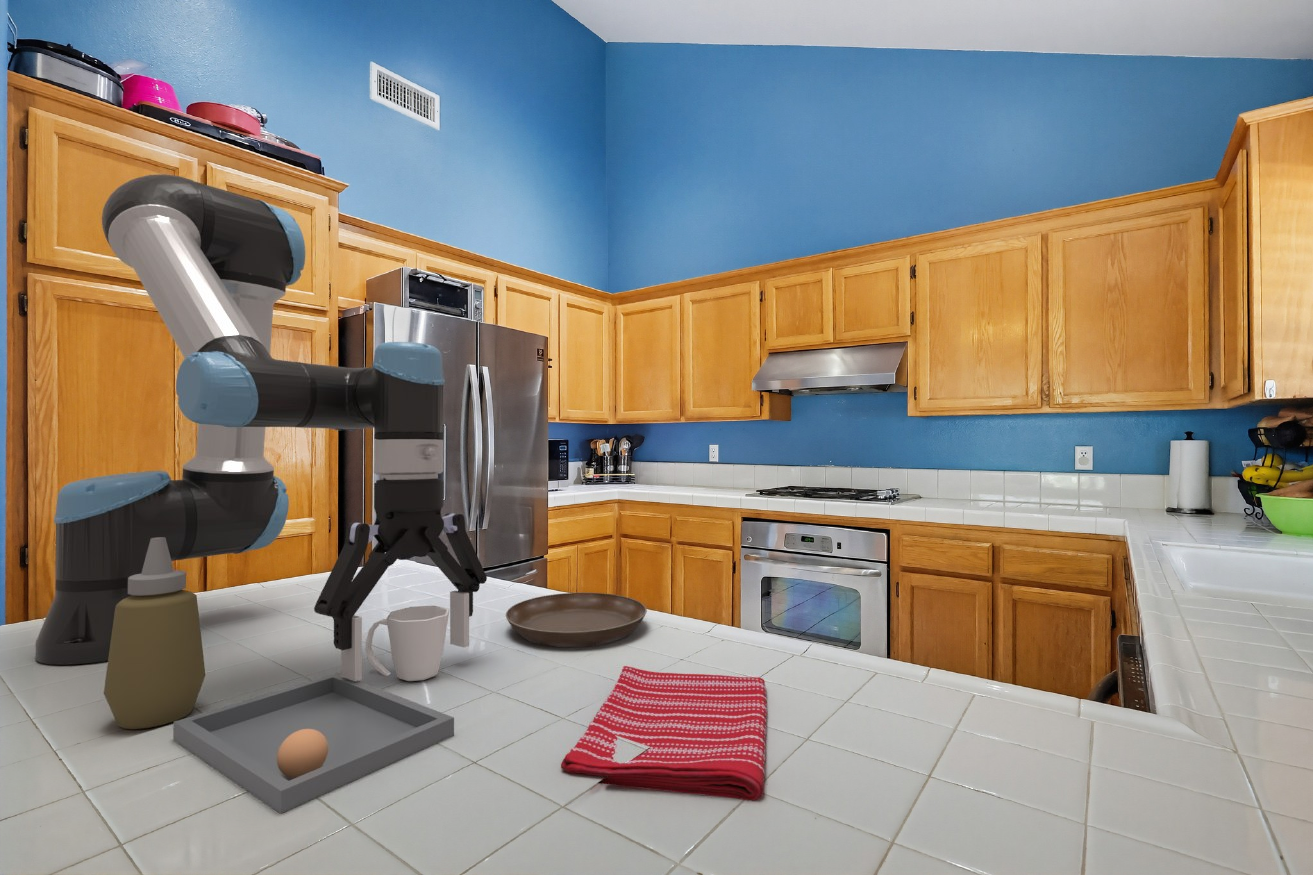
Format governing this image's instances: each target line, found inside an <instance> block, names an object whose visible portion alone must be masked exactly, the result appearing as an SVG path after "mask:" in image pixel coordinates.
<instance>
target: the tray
mask: <svg viewBox="0 0 1313 875" xmlns="http://www.w3.org/2000/svg"><path fill="white" fill-rule="evenodd" d="M172 724H173V726H172V729H173V738H172V739H173V741H174V742H175V743H176V744H178V745H179V746H181V747H182V748H184V749H185V750H187V751H188V752H190V753H191V754H193V755H194V756H196V757H197V758H198V759H200V760H202V761H203V762H204V763H206V764H207V765H208V766H210V767H212V768H213V769H214V770H216V771H218V772H219V773H220V774H222V775H223V776H225V777H226V778H227V779H229V780H230V781H232V782H233V783H235V784H236V785H238V786H239V787H240V788H242V789H244V790H246V791H247V792H248V793H249V794H251V795H252V796H253V797H255V798H256V799H258V800H260V801H261V802H262V803H264V804H265V805H266V806H268V807H269V808H271V809H272V810H274V811H276V812H277V813H278V814H280V815H283V814H284V813H287V812H289V811H292V810H294V809H295V808H298V807H300V806H301V805H304V804H306V803H308V802H311V801H313V800H315V799H317V798H319V797H322V796H324V795H326V794H328V793H331V792H333V791H335V790H337V789H339V788H342V787H344V786H346V785H348V784H351V783H353V782H355V781H357V780H359V779H362V778H363V777H366V776H368V775H371V774H373V773H375V772H377V771H379V770H381V769H382V770H383V769H384V768H386V767H388V766H390V765H392V764H395V763H397V762H400V761H402V760H404V759H406V758H408V757H410V756H412V755H415V754H417V753H420V752H421V751H423V750H426V749H428V748H429V747H433V746H434V745H437V744H439V743H442V742H443V741H446V740H448V739H450V738H452V737H454V736H455V717H454V716H451V715H448V714H446V713H444V712H441V711H438V710H437V709H436V710H435V709H434V708H430V707H427V706H425V705H422V704H419V703H418V702H415V701H412V700H410V699H407V698H404V697H402V696H399V695H398V694H394V693H391V692H389V691H387V690H384V689H381V688H379V687H376V686H373V685H370V684H368V683H365V682H363V681H361V680H358V681H352V680H349V679H346V678H344V677H341V672H340V673H339V672H335V673H331V674H328V675H325V676H321V677H318V678H315V679H311V680H308V681H305V682H302V683H298V684H294V685H292V686H288V687H284V688H282V689H277V690H275V691H272V692H269V693H264V694H261V695H258V696H255V697H252V698H251V697H250V698H248V699H245V700H241V701H237V702H235V703H231V704H228V705H225V706H222V707H219V708H215V709H212V710H209V711H204V712H202V713H199V714H195V715H191V716H188V717H186V718H185V717H183V718H180V719H178V720H176V721H173V723H172ZM302 729H314V730H317V731H319V732H320V733H322V734H323V735H324V737H325V738H326V740H327V743H328V754H327V757H326V760H325V762H324V763H323V765H322V766H321V767H320V768H318V769H316V770H314V771H311V772H309V773H306V774H304V775H302V776H299V777H297V778H294V779H293V778H289V777H287V776H285V775H284V774H283V773H282V772H281V771H280V770H279V768H278V764H277V754H278V750H279V748H280V746H281V744H282V743H283V741H284V740H285V739H286V738H287V737H288V736H290V735H291V734H292V733H294V732H296V731H299V730H302Z"/></svg>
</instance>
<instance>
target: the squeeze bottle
mask: <svg viewBox="0 0 1313 875" xmlns="http://www.w3.org/2000/svg"><path fill="white" fill-rule="evenodd" d="M186 588H187V572H186V571H185V570H181V569H180V570H178V569H177V570H176V569H174V566H173V561H171V557H170V553H169V550H168V546H167V542H166V538H165V537H157V538H151V540H150V543H149V547H148V551H147V554H146V558H145V562H144V565H143V569H142V573H141V574H136V575H133V576H130V577H129V578H128V594H130V595H132V596H130V597H127V598H125V599H123V600H121V601H120V602H119V603H118V604H116V607H115V614H114V621H113V628H112V636H111V643H110V650H109V658H108V660H107V665H106V671H105V680H104V689H103V696H104V697H105V700H106V703H107V704H108V707H109V708H110V710H111V714H112V715H113V717H114V719H115V721H116V724H117V726H118V727H120V728H122V729H126V730H127V729H128V730H137V729H138V730H139V729H149V728H153V727H158V726H163V725H167V724H169V723H172V722H173V723H174V721H178V720H181V719H183V718H185V717H187V716H188V715H189V714H190V713H191V712H192V711H193V710H194V707H195V704H196V701H197V699H198V696H199V693H200V691H201V688H202V685H203V683H204V681H205V677H206V667H205V666H206V665H205V657H204V650H203V649H204V648H203V641H202V640H203V638H202V630H201V622H200V613H199V605H198V598H197V597H198V595H197V594H195V593H194V592H192V591H189V590H185V589H186Z"/></svg>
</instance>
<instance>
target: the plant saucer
mask: <svg viewBox="0 0 1313 875" xmlns="http://www.w3.org/2000/svg"><path fill="white" fill-rule="evenodd" d="M647 611H648V610H647V606H646V605H644V604H643V603H642V602H640V601H639V600H636V599H634V598H630V597H627V596H624V595H620V594H619V595H618V594H613V593H612V594H611V593H610V594H609V593H603V592H566V593H556V594H555V593H554V594H549V595H548V594H547V595H541V596H537V597H533V598H529V599H526V600H523V601H520V602H518V603H516V604H514V605H512V606H510V607H509V608H508V609H507V611H506V612H505V619H506V620H507V622H508V623H509V625H510V626H511V628H513V630H514V631H515V632H516V633H517V634H518V635H520V636H521V637H522V638H524V639H525V640H526V641H529V642H531V643H534V644H536V645H537V644H538V645H542V646H548V647H557V648H582V647H583V648H584V647H585V648H586V647H592V646H593V647H594V646H600V645H604V644H605V645H606V644H609V643H613V642H616V641H619V640H621V639H624V638H625V637H627V636H629V635H630V634H632V633H633V632H634V630H636V629H637V628H638V626H640V624H641V623H642V621H643V620H644V618H645V616H646V614H647Z"/></svg>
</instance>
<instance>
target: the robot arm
mask: <svg viewBox="0 0 1313 875" xmlns="http://www.w3.org/2000/svg"><path fill="white" fill-rule="evenodd" d="M101 226H102V227H101V228H102V230H103V234H104V237H105V239H106V241H107V243H108V244H109V247H110V249H111V250H112V252H113V254H115V256H116V257H117V258H118V259H119V260H120V261H121V262H122V263H123V264H125V265H126V266H128V267H130V268H132V269H133V270H134V272H135V274H136V275H137V277H138V279H139V281H140V283H141V284H142V286H143V289H145V291H146V293H147V295H148V296H149V298H150V300H151V302H152V304H153V306H154V308H155V309H156V311H157V312H158V314H159V316H160V318H161V320H162V321H163V323H164V324H165V326H166V328H167V330H168V333H170V335H171V337H172V339H173V341H174V342H175V344H176V346H177V348H178V350H179V351H180V353H181V354H182V356H183V358H184V359H183V360H182V362H181V364H180V366H179V367H178V370H177V373H176V380H175V391H176V392H175V393H176V395H177V396H178V400H177V401H178V402H177V404H178V407H179V409H180V412H181V413H182V415H184V417H185V418H186V419H187V420H189V421H191V422H193V423H194V424H197V437H196V438H197V439H196V440H197V441H196V451H195V452H196V454H195V455H194V456H193V457H192V458H191V459H189V460H188V461H187V462H185V463H184V464H183V465H182V474H181V475H182V478H181V479H173V480H172V478H171V476H170V474H169V472H167V471H165V470H147V471H139V472H127V473H119V474H117V473H116V474H109V475H102V476H96V477H89V478H84V479H80V480H75V481H72V482H69V483H67V484H65V485H64V486H63V487H62V488H60V490H59V492H58V494H57V498H56V507H55V514H54V517H53V523H54V524H55V550H54V551H55V556H54V557H55V558H54V560H55V563H54V566H55V567H54V568H55V569H54V571H55V572H54V573H55V574H54V579H55V583H54V584H55V586H54V598H53V600H52V602H51V605H50V607H49V609H48V612H47V615H46V616H45V619H44V622H43V624H42V626H41V629H40V631H39V633H38V636H37V639H36V640H35V653H34V654H35V655H34V656H35V657H34V658H35V661H36V662H38V663H41V664H48V665H60V666H61V665H78V664H80V665H81V664H90V663H91V664H92V663H100V662H106V661H107V662H108V658H109V650H110V643H111V636H112V628H113V621H114V614H115V607H116V604H118V603H119V602H120V601H121V600H123V599H125V598H127V597H130V596H132V595H130V594H128V578H129V577H130V576H133V575H136V574H141V573H142V569H143V565H144V562H145V558H146V554H147V551H148V547H149V543H150V540H151V538H157V537H165V538H166V542H167V546H168V550H169V553H170V557H171V561H172V562H174V561H181V560H188V559H197V558H205V557H212V556H220V555H227V554H229V555H230V554H234V555H237V554H238V555H239V554H243V553H245V552H249V551H252V550H253V551H254V550H259V549H263V548H266V547H268V546H269V545H271V544H272V543H273V542H275V540H276V539H278V537H279V535H280V534H281V532H282V531H283V529H284V527H285V524H286V521H287V518H288V513H289V508H290V507H289V505H290V504H289V503H290V502H289V494H287V490H288V489H287V486H286V484H285V482H284V481H283V480H282V479H281V478H279V477H277V476H276V475H274V474H275V466H273V465H272V464H271V463H270V462H269V461H268V460H267V459H266V458H265V455H264V454H265V453H264V452H265V436H266V428H301V429H304V428H305V429H306V428H307V429H329V430H334V431H335V430H336V431H349V432H352V431H353V432H354V431H358V430H362V429H363V430H364V429H372V428H374V434H373V435H374V437H373V438H374V442H373V443H374V445H373V446H374V448H373V449H374V450H373V473H374V474H375V475H378V476H379V479H376V480H375V481H376V482H374V483H373V485H374V486H373V487H374V488H373V509H374V512H375V515H376V518H375V521H374V523H373V524H368V523H363V522H350V523H349V524H348V525H347V527H346V533H345V541H344V545H343V547H342V549H341V551H340V553H339V555H338V557H337V558H336V561H335V563H334V565H333V568H332V570H331V572H330V573H329V576H328V577H327V579H326V582H325V583H324V586H323V588H322V591H321V592H320V595H319V597H318V598H317V600H316V603H315V605H314V606H313V607H314V608H313V610H314V613H316V614H318V615H323V616H327V617H331V618H332V619H333V645H334V648H335V649H337V650H340V654H341V655H340V674H341V677H344V678H346V679H349V680H352V681H361V680H363V651H362V650H363V648H362V647H363V642H362V641H363V630H362V629H363V626H362V625H363V621H362V620H363V617H362V616H358V615H355V614H356V613H357V612H358V610H359V609H360V607H361V606H362V604H363V603H365V601H366V599H367V597H369V595H370V593H371V592H372V591H373V590H374V588H375V587H376V585H377V584H378V582H380V580H381V578H382V577H383V575H384V574H385V572H386V571H387V569H388V568H389V567H390V566H391V567H392V565H394V564H395V563H396V561H397V560H400V561H404V560H410V559H412V558H413V557H415V558H416V557H418V558H424V557H427V556H428V557H429V558H430V560H431V561H432V562H433V563H434V565H436V566H437V568H438V569H439V570H440V571H441V572H442V574H443V575H444V576H445V578H447V579H448V580H449V582H451V584H452V585H453V586H454V587H455V589H456V590H451V591H449V618H450V619H449V620H450V621H449V628H450V629H449V631H450V632H449V633H450V634H449V640H450V642H449V643H450V645H453V646H457V647H461V648H468V647H470V617H472V616H473V613H474V593H477V592H478V591H479V590H480V584H481V585H482V584H485V583H486V582H487V579H488V576H487V574H486V572H485V570H484V567H483V565H482V564H481V562H480V559H479V557H478V554H477V553H476V550H475V549H474V546H473V544H472V541H471V540H470V537H469V535H468V533H467V529H466V523H465V516H464V515H463V514H462V513H451V512H446V513H445V514H444V516H442V508H444V505H445V504H444V500H445V498H444V495H445V491H444V487H445V486H444V483H445V482H444V480H442V478H439V474H442V473H443V472H444V390H445V389H444V385H445V382H446V380H445V378H444V368H443V367H444V366H443V354H442V353H441V350H439V349H438V348H437V347H436V346H433V345H430V344H426V343H420V342H411V341H387V342H382V343H380V344H378V345H377V346H376V348H375V350H374V356H373V360H372V366H367V367H345V366H335V365H326V364H325V365H324V364H316V363H307V362H301V361H293V360H292V361H290V360H280V359H275V358H273V356H272V355H271V348H272V346H271V344H272V332H273V331H272V330H273V314H274V305H275V304H276V302H278V301H279V300H280V299H282V298H283V297H284V296H286V291H287V289H286V288H287V287H288V286H292V285H294V284H295V283H297V282H298V280H299V279H300V278H301V276H302V272H301V271H303V270H304V269H305V264H306V244H305V239H304V235H303V231H302V229H301V227H300V225H299V223H298V222H297V221H296V219H295V217H294V216H293V215H292V214H290V213H289V212H288V211H287V210H284V209H283V208H280V207H277V206H274V205H271V204H270V203H267V202H266V201H265V200H262V199H255V198H252V197H249V196H246V195H242V194H238V193H235V192H232V191H228V190H225V189H221V188H219V187H215V186H211V185H207V184H205V183H202V182H198V181H195V180H193V179H189V178H187V177H183V176H180V175H173V174H172V175H171V174H164V173H163V174H161V173H160V174H148V175H145V176H140V177H137V178H133V179H131V180H129V181H127V182H125V183H122V184H121V185H120V186H118V187H117V188H116V189H115V190H114V191H112V193H111V194H110V195H109V197H108V198H107V200H106V202H105V203H104V206H103V208H102V215H101ZM442 531H443V532H444V533H445V534H446V537H447V540H448V542H449V544H450V546H451V549H452V551H453V553H454V554H455V557H456V559H455V558H454V556H453V555H452V554H451V552H449V550H448V549H449V548H448V546H447V545H446V544H445V543H444V542H443V540H442V538H440V536H441V533H442ZM373 539H375V540H376V541H377V543H376V544H375V545H374V547H373V548H372V550H371V552H370V553H369V554H368V559H367V560H366V562H365V563H364V564H363V566H362V567H361V569H359V566H360V564H361V562H362V560H363V558H364V556H365V554H366V551H367V548H368V546H369V544H370V543H371V542H372V541H373ZM358 569H359V571H358V572H357V570H358Z"/></svg>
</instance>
